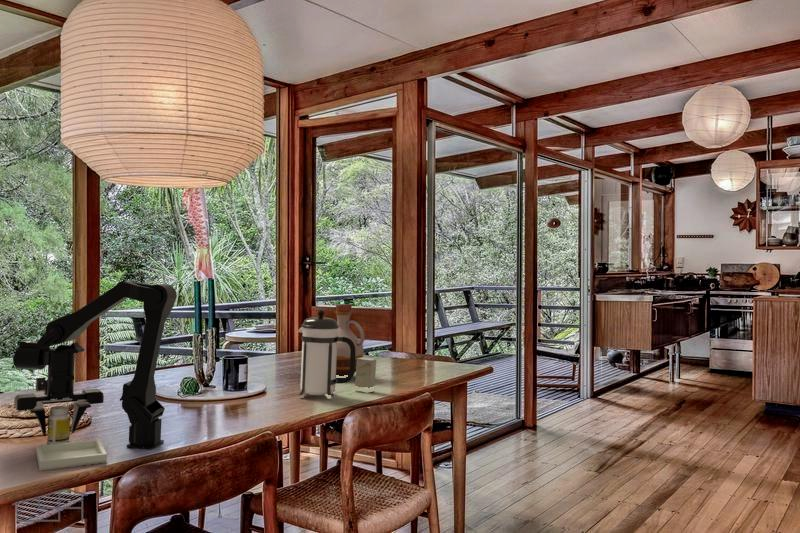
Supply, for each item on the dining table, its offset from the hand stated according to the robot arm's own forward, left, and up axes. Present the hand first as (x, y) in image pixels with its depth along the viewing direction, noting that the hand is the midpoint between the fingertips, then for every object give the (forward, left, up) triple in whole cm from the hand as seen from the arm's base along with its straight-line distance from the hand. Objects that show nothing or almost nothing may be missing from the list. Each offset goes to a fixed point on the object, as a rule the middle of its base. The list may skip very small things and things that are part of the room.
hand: (58, 434), depth 156 cm
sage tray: (-11, +11, -2) cm, 16 cm away
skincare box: (-60, -86, -2) cm, 105 cm away
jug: (-46, -111, -2) cm, 120 cm away
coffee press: (-47, -73, -2) cm, 87 cm away
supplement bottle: (0, 0, -2) cm, 2 cm away
